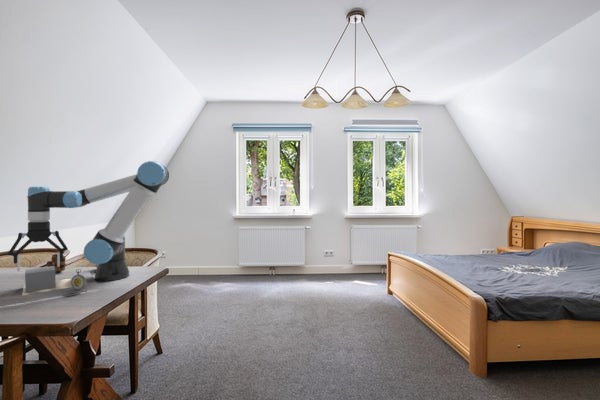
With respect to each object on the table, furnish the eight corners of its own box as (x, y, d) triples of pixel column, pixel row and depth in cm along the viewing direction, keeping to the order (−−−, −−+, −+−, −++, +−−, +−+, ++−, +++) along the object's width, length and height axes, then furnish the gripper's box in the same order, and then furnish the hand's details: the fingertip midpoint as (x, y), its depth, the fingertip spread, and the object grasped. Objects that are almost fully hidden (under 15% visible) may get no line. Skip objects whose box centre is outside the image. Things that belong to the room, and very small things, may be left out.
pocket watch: (60, 298, 125) (59, 273, 125) (65, 292, 133) (64, 269, 132) (84, 294, 129) (84, 271, 129) (87, 289, 136) (87, 267, 136)
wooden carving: (42, 271, 170) (42, 253, 170) (52, 269, 175) (51, 252, 174) (61, 274, 164) (60, 255, 164) (70, 272, 168) (70, 254, 168)
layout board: (82, 278, 155) (82, 276, 155) (86, 286, 140) (86, 284, 140) (23, 287, 140) (23, 285, 140) (22, 297, 126) (22, 295, 126)
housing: (54, 282, 144) (54, 266, 144) (55, 287, 136) (55, 269, 136) (26, 287, 137) (25, 269, 137) (25, 292, 130) (25, 273, 130)
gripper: (72, 219, 147) (73, 263, 148) (0, 221, 131) (1, 271, 131) (74, 220, 142) (74, 265, 142) (-1, 223, 125) (-1, 274, 126)
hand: (39, 268), depth 137 cm, fingers open, 13 cm apart
